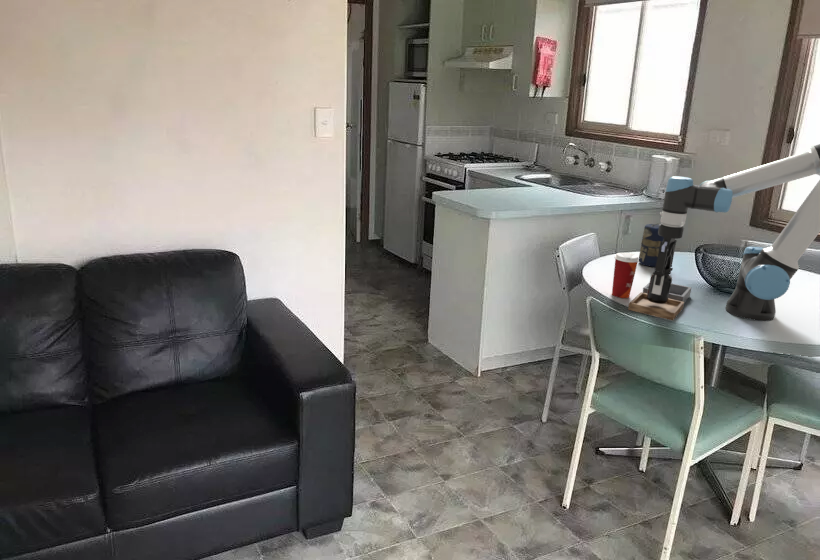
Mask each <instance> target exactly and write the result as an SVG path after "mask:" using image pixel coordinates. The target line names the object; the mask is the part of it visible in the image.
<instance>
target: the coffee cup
mask: <svg viewBox="0 0 820 560" xmlns="http://www.w3.org/2000/svg"><path fill="white" fill-rule="evenodd" d="M614 259H615V260H614V268H613V280H612V291H611V295H612V296H614V298H620V299H628V298H630V295H631V291H632V287H633V283H634V279H635V274H636V271H637V266H638V263H639V255H636V254H635V253H630V252H617V253H616V255H615V256H614Z"/></svg>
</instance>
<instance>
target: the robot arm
mask: <svg viewBox="0 0 820 560" xmlns="http://www.w3.org/2000/svg"><path fill="white" fill-rule="evenodd" d="M814 175H817V176H820V143H819V144H816V145H812V146H811V148H810V149H809V150H808V151H807V150H806V151H805V152H801V153H798V154H795V155H791V156H788V157H785V158H781V159H778V160H775V161H772V162H769V163H766V164H762V165H759V166H756V167H752V168H749V169H745V170H742V171H739V172H737V173H736V172H735V173H732V174H730V175H726V176H723V177H720V178H716V179H712V180H711V179H710V180H709V179H708V180H705V181H703V182H701V183H700V184H699V185H698V184H697V185H696V184H694V180H693V178H691V177H687V176H681V175H680V176H678V175H675V176H671V177H669V178H668V179H667V184H666V188H665V191H664V192H665V193H664V198H663V204H662V210H661V212H659V215H660V216H661V217H660V223H659V224H660V225H659V224H658V225H659V230H658V235H660V236H663V237H664V239H663V242H662V241H661V244H660V246H659V253H658V258H657V263H656V267H655V268H654V271H653V272H652V274H653V275H655V279H654V284H653V290H652V293H653V294H658V295H661V291H662V285H663V280H664V272H665V268H666V266H668V267H670V268H671V271H673V269H674V268H673V262H674V256H675V250H676V245H677V242H678V239H682V238H683V234H684V229H685V228H684V226H685V225H686V220H687V215H688V209H692V210H700V211H706V212H714V213H728V212H729V211H730V209H731V205H732V201H733V198H734V199H735V198H737V197H740V196H741V197H742V196H744V195H748V194H750V193H754V192H758V191H762V190H765V189H769V188H772V187H776V186H779V185H784V184H786V183H790V182H793V181H796V180H800V179H804V178H806V177H810V176H814ZM819 234H820V179H819V180H818V181H817V183H816V184H815V185H814V187H813V189H812V190H811V191H810V193H809V194H808V195H807V196H806V198H805V199H804V201H802V203H801V205H800V206H799V207H798V209H797V210H796V211H795V213H794V214H793V216H792V217H791V218H790V220H789V221H788V222H787V223H786V226H785V227H784V228H783V229H782V230H781V232H780V233H779V235H778V236H777V237H776V238H775V240H774V242H773V243H772V244H771V245H770V246H767V247H761V246H747V247H745V249H744V251H743V253H742V259H741V260H742V261H741V264H740V268H739V273H738V277H737V282H736V286H735V288H734V290H733V292H732V294H731V295H730V296H729V298H728V299H727V301H726V304H725V310H726V312H728V313H730V314H732V315H734V316H736V317H739V318H743V319H745V320H746V319H747V320H750V321H758V322H760V321H761V322H763V321H764V322H766V321H767V322H769V321H773V320H774V319H775V318H776V312H777V311H776V303H775V299H776V300H777V299H778V298H779V299H780V298H781V297H782V296H783V295H784V294H786V293H787V292H788V290H789V288H790V285H791V279H792V278H793V277H794V275H795V274H796V273H797V272H798V271H799V268H800V266H799V260H800V258H801V257H802V256H803V255H804V253H806V251H807V249H808V248H809V247H810V245H812V243H813V241H814V240H816V237H817V236H818V235H819ZM659 271H660V272H659Z"/></svg>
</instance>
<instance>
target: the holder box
mask: <svg viewBox="0 0 820 560" xmlns="http://www.w3.org/2000/svg"><path fill="white" fill-rule="evenodd" d="M649 283H650V282H648V283H647V284H646V285H644V287H643V288H642V293H647V292H648V288H649ZM691 293H692V287H691V286H685V285H681V284H677V283H673V282H672V283H671V288H670V293H669V297H668V298H669V299H673V300H678V301H682V302H684V304H685V303H686V302H687V301H688V299H690V297H691Z"/></svg>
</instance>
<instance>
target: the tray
mask: <svg viewBox="0 0 820 560" xmlns="http://www.w3.org/2000/svg"><path fill="white" fill-rule="evenodd" d="M684 305H685V303H684V302H682V301H678V300H673V299H669V298H668V301H667V303H665V304H657V303H653V302H650V301H648V300H647V293H643V291H642V292H640V293H638V294H637V295H636V296H635V297H634V298H632V299H631V300H630V301H629V302H628V307H627V310H628V311H633V312H636V313H640V314H644V315H648V316H651V317H652V316H653V317H656V318H661V319H664V320H669V321H674V320H675V319H676V318H677V317H678V315H679V314H680V313H681V312H682V311H683V309H684ZM681 310H682V311H681ZM676 316H677V317H676Z"/></svg>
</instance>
